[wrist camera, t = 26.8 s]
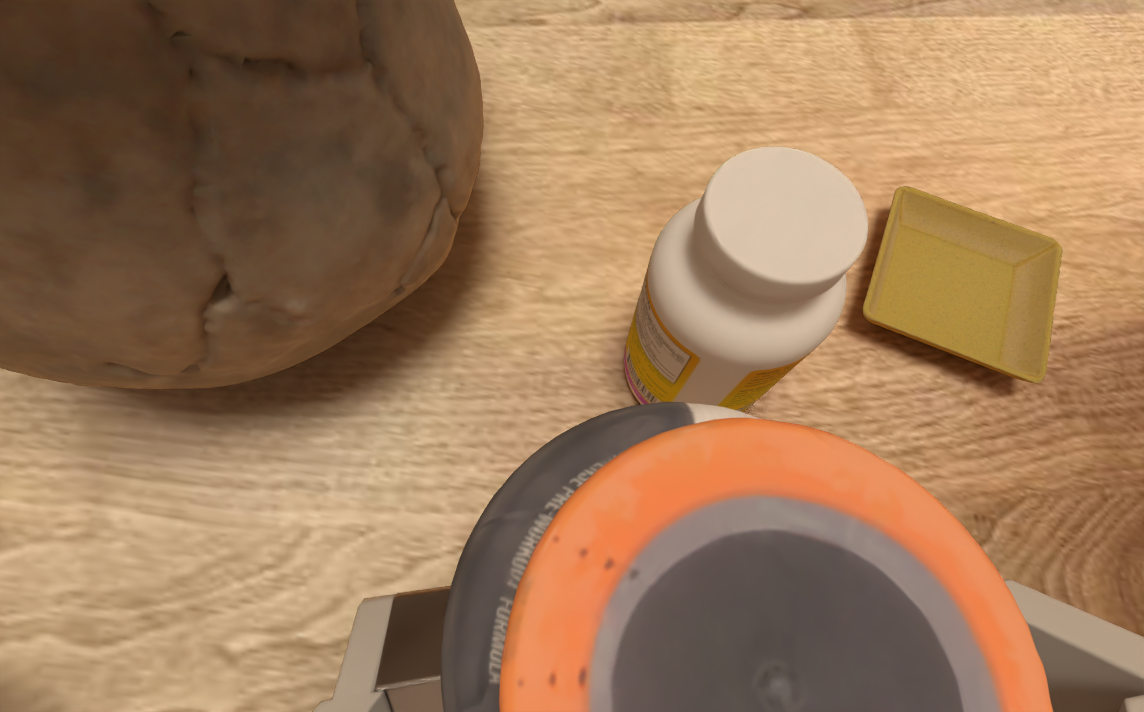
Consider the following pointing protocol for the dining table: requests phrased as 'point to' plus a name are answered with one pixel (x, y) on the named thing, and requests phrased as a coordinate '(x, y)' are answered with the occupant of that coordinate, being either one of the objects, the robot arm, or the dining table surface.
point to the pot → (222, 179)
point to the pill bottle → (726, 580)
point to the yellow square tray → (966, 284)
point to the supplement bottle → (745, 280)
